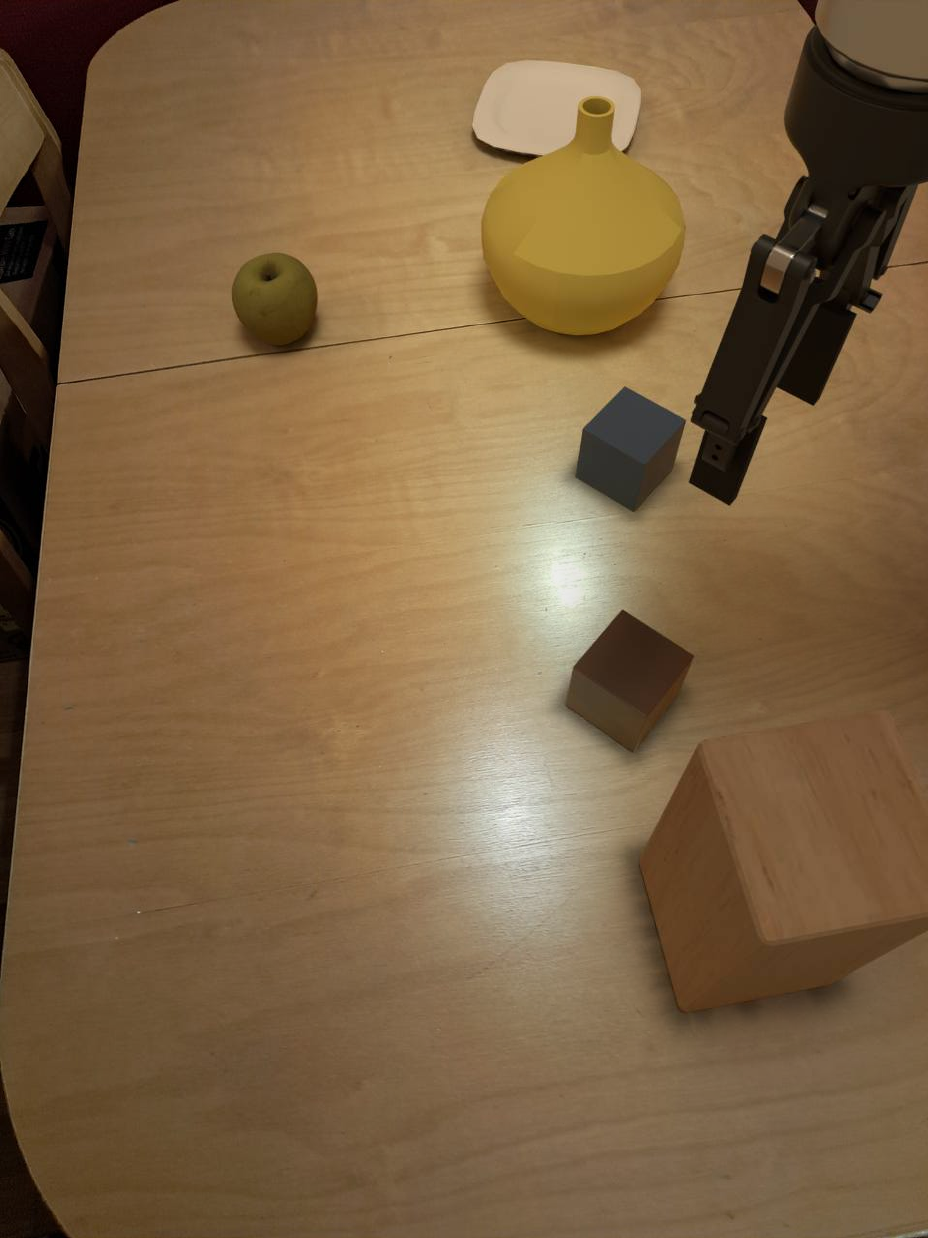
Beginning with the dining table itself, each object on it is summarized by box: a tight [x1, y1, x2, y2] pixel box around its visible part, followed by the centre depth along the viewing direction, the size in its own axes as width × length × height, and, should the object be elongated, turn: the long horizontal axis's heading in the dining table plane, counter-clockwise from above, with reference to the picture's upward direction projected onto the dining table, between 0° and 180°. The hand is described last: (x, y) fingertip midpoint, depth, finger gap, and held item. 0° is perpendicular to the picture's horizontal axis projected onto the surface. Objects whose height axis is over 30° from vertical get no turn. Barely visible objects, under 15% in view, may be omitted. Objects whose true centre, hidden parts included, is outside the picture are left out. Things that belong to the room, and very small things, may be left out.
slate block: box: [575, 385, 687, 512], centre depth 78 cm, size 6×6×6 cm
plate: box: [471, 59, 642, 158], centre depth 106 cm, size 18×18×2 cm
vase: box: [480, 96, 687, 336], centre depth 83 cm, size 18×18×19 cm
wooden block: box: [638, 709, 928, 1013], centre depth 52 cm, size 10×10×20 cm
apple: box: [231, 252, 319, 346], centre depth 86 cm, size 8×8×7 cm
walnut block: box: [565, 609, 695, 753], centre depth 67 cm, size 6×6×6 cm
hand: (755, 439), depth 55 cm, fingers open, 9 cm apart
